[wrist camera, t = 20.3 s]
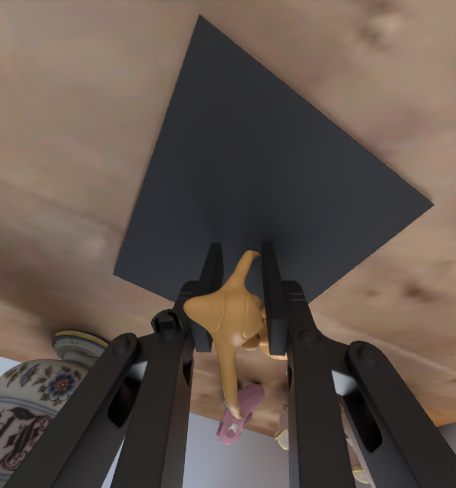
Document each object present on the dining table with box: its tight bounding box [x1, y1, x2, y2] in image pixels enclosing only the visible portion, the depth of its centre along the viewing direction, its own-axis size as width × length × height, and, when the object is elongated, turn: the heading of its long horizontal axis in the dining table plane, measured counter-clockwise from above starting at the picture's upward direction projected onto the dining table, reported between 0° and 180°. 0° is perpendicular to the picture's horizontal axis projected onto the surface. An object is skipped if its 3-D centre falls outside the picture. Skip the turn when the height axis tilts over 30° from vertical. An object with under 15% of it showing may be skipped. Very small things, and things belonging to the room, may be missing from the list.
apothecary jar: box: [0, 330, 109, 488], centre depth 20 cm, size 12×12×18 cm
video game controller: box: [216, 384, 265, 445], centre depth 28 cm, size 10×5×7 cm, turn 171°
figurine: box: [184, 250, 287, 419], centre depth 11 cm, size 8×6×12 cm
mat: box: [113, 15, 434, 306], centre depth 16 cm, size 18×20×1 cm
